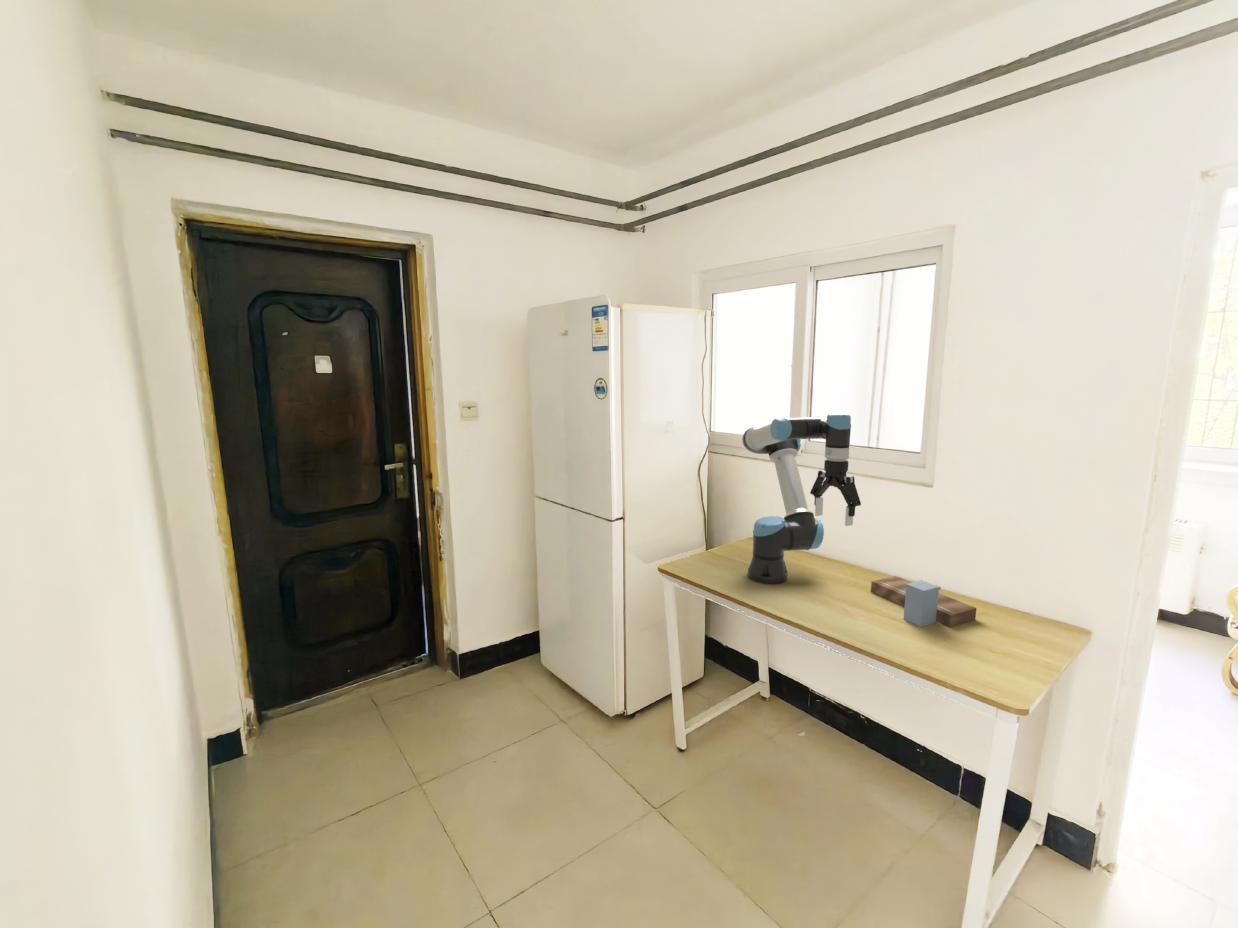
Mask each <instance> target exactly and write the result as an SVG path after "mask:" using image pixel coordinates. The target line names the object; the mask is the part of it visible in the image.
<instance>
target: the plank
mask: <svg viewBox="0 0 1238 928" xmlns="http://www.w3.org/2000/svg"><path fill="white" fill-rule="evenodd" d="M908 583H913V582H912V581H909V580H907V579H904V578H902V577H900V576H897V575H893V576H892V575H891V576H888V577H884V578H881V579H876V580H871V586H870V593H873V594H876V595H877V596H880V597H881V598H884V599H886V600H889V601H891V602H893V603H895V604H897V605H900V606H902V607H905V595H906V584H908ZM976 616H977V607H976V606H973V605H971V604H968V603H965V602H963V601H960V600H957V599H956V598H952V597H951V596H947V595H945V594H942V593H940V592H939V593H938V603H937V614H936V623H940V624H942V625H943V626H946V627H949V628H952V627H956V626H958V625H963V624H965V623H968V622H969V623H970V622H971V621H975V620H976Z"/></svg>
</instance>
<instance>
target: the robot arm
mask: <svg viewBox="0 0 1238 928" xmlns="http://www.w3.org/2000/svg"><path fill="white" fill-rule="evenodd" d="M851 419H852V417H851V415H850V413H843V412H842V413H841V412H836V413H835V412H832V413H829V414H827V416H823V415H821V416H817V415H816V416H813V417H780V418H773V420H772V422H771V423H769V424H767V425H764V426H754V427H753V426H752V427H750V428H747V429H746V430H745V432H743V435H742V445H743V446H744V447H745V448H746V450H747V451H749V452H750V453H754V454H757V455H758V454H760V455H768V456H769V460H770V461H771V462H773V463H774V465H775V471H776V475H777V480H778V485H779V489H780V493H781V497H782V498H781V499H782V501H783V506H784V509H785V515H784V517H781V516H773V515H772V516H771V515H770V516H764V517H761V518H758V519H757V520H756V521H755V522H754V524H753V530H752V537H753V538H752V557H751V558H752V559H751V560H750V564H749V566H748V567H747V577H748V578H749V579H750V580H752V581H755V582H757V583H762V584H774V585H775V584H780V583H784V582H786V581H787V580H788V577H789V576H788V569H787V566H786V563H785V562H786V561H785V559H784V557H785V552H786V551H787V552H788V551H790V552H791V551H809V550H816V549H819V548H820V547H821V545H822V543H823V541H824V540H823V539H824V536H825V535H824V534H825V533H824V532H825V528H824V524H823V522H822V521H821V519H819V518H815V517H820V516H823V513H824V512H823V509H824V506H823V505H824V497H823V495H824V494H825V492H826V491H827V490H828V489H829V488H830V487H834V488H837V489H838V490H839V491H840V493H841V494H842V497H843V499H844V501H845V503H846V504H847V505H846V506H845V515H844V517H845V518H844V526H845V527H848V526H854V525H853V524H854V517H855V515H856V514H855V513H856V508H857V507H859V506H861V505H862V502H861V500H860V495H859V493H858V490H857V488H856V483H855V476H854V475H851V476H847V473H848V471H849V460H848V459H849V458H850V443H851V441H850V440H851V430H852V424H851V423H852V422H851V421H852V420H851ZM813 439H819V440H821V439H822V440H825V449H824V450H825V451H824V458H825V460H824V466H823V469H822V470H821V469H820V470H818V471H817V476H816V479H815V481H814V483H813V485H812V487H811V489H810V492H809V493H810V495H813V497H814V507H815V510H814V512H813V511H811V510H809V507H808V504H807V503H808V502H807V500H806V495H805V492H804V487H803V484H802V479H801V476H800V472H799V471H800V470H799V467H798V464H797V459H796V457H797V456H798V454H799V451H800V449H801V447H802V445H801V442H802V441H801V440H813Z"/></svg>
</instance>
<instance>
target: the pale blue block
mask: <svg viewBox="0 0 1238 928" xmlns="http://www.w3.org/2000/svg"><path fill="white" fill-rule="evenodd" d="M939 591H941V586H940V585H937V584H932V583H929V582H927V581H926V580H925V581H924V580H918V581H914V582H912V583H908V584H906V595H905V607H904V606H903V607H904V608H903V609H904V610H903V620H904V621H907V622H908V623H911V624H913V625H915V626H917V627H920V628H922V627H925V626H928V625H932V624H936V623H937V621H936V614H937V603H938V593H940V592H939Z"/></svg>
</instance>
